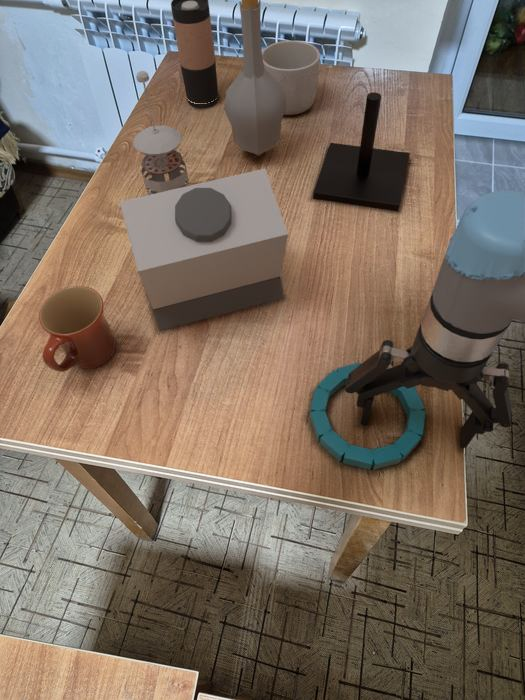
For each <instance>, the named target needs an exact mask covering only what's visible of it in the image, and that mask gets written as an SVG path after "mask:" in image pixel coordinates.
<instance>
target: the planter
mask: <svg viewBox="0 0 525 700" xmlns="http://www.w3.org/2000/svg"><path fill="white" fill-rule="evenodd" d="M262 57H263V63H264V69H265V70H266V71H267V72H268V73H269V74H270V75H271V76H272V77H273V78H274V79H275V80H276V81H277V82H278V83H279V84H280V85H281V86H282V87H283V91H284V96H285V100H286V104H287V105H286V109H285V112H284V115H283V116H295V115H299V114H302V113H304V112H307V111H308V110H309V109H310V108H311V107H312V106H313V104H314V102H315V99H316V96H317V90H318V83H319V74H320V73H319V71H320V61H321V53H320V51H319V49H318V48H317V47H316V46H315V45H313V44H311V43H308V42H305V41H302V40H281V41H277V42H274V43H271V44H269V45H267V46H266V47H265V48H263V50H262Z"/></svg>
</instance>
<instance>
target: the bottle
mask: <svg viewBox="0 0 525 700" xmlns="http://www.w3.org/2000/svg"><path fill="white" fill-rule="evenodd" d="M261 2H262V1H261V0H241V1H238V4H239V11H240V20H241V36H242V53H243V54H242V70H241V71H240V72H239V74H238V75H237V76H236V77H235V79H234V80H233V81H232V82H231V84H230V85H229V87H227V89H226V91H225V99H224V107H223V110H224V112H225V115H226V117H227V119H228V122H229V123H230V126H231V132H232V137H233V143H234V144H235V145H237V146H238V147H239V149H241V150H243V151H245V152H248V153H251V154H255V155H256V156H257V157H259V156H261V155H262V154H264V153H265V152H267V151H268V152H269V150H272V149H273V148H275V147H276V146H277V143H278V142H280V140H281V131H282V121H283V118H284V116H285V115H284V112H285V109H286V105H287V104H286V100H285V96H284V91H283V87H282V86H281V85H280V84H279V83H278V82H277V81H276V80H275V79H274V78H273V77H272V76H271V75H270V74H269V73H268V72H267V71H266V70H265V69H264V63H263V57H262V51H263V50H262V28H261V25H262V24H261V6H262V5H261V4H262V3H261Z"/></svg>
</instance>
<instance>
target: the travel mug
mask: <svg viewBox="0 0 525 700" xmlns="http://www.w3.org/2000/svg"><path fill="white" fill-rule="evenodd" d="M209 4H210V3H209V0H171V2H170V8H171V14H172V21H173V26H174V27H173V28H174V34H175V40H176V46H177V53H178V59H179V65H180V71H181V75H182V80H183V81H182V82H183V85H184V90H185V95H186V100H187V103H188V105H189V106H191V107H193V108H196V109H207V108H210V107H212V106H215V105H216V104H217V103H218V101H219V89H218V88H219V87H218V76H217V75H218V74H217V63H216V54H215V46H214V37H213V30H212V29H213V28H212V21H211V12H210V5H209ZM217 96H218V97H217ZM187 98H188V99H189V100H190V101H192V102H195V103H207V104H194V103H191V102H190V101H188V99H187ZM216 98H217V99H216ZM215 99H216V100H215ZM213 100H214V101H213ZM211 101H213V102H211ZM208 102H210V103H208Z"/></svg>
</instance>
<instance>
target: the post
mask: <svg viewBox="0 0 525 700" xmlns="http://www.w3.org/2000/svg"><path fill="white" fill-rule="evenodd" d="M381 101H382V95H381V93H379V92H375V91H374V92H373V91H372V92H369V93H367V94H366V99H365V108H364V114H363V123H362V129H361V131H362V132H361V137H360V144H359V145H353V144H352V145H351V144H345V143H344V144H343V143H337V142H330V143H329V146H328V148H327V151H326V154H325V157H324V160H323V163H322V166H321V169H320V172H319V174H318V178H317V181H316V183H315V186H314V189H313V192H312V199H314V200H321V201H325V202H333V203H339V204H347V205H352V206H359V207H365V208H373V209H379V210H386V211H393V212H399V211H400V206H401V201H402V197H403V191H404V187H405V181H406V176H407V171H408V166H409V161H410V155H411V152H405V151H399V150H389V149H383V148H376V147H374V146H375V139H376V132H377V128H378V127H377V126H378V121H379V115H380V108H381Z"/></svg>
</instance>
